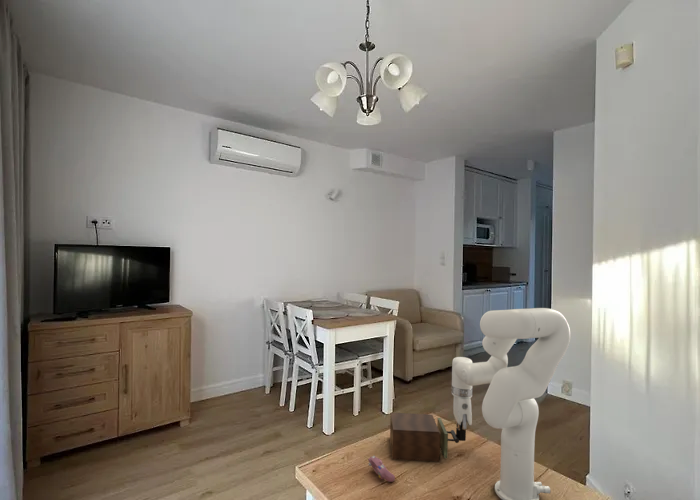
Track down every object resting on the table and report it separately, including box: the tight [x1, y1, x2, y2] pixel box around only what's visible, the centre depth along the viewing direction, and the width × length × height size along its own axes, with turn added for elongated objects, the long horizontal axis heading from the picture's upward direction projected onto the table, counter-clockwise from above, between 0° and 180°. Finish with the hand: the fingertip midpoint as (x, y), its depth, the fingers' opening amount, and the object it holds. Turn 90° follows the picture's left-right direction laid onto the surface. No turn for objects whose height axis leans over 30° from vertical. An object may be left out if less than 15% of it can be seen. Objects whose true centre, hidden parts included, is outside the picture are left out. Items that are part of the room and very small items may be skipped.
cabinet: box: [389, 412, 440, 462], centre depth 139 cm, size 17×15×11 cm
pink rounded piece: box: [367, 455, 396, 483], centre depth 122 cm, size 10×5×7 cm, turn 25°
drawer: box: [434, 417, 460, 459], centre depth 139 cm, size 20×13×9 cm, turn 87°
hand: (460, 439), depth 139 cm, fingers closed
